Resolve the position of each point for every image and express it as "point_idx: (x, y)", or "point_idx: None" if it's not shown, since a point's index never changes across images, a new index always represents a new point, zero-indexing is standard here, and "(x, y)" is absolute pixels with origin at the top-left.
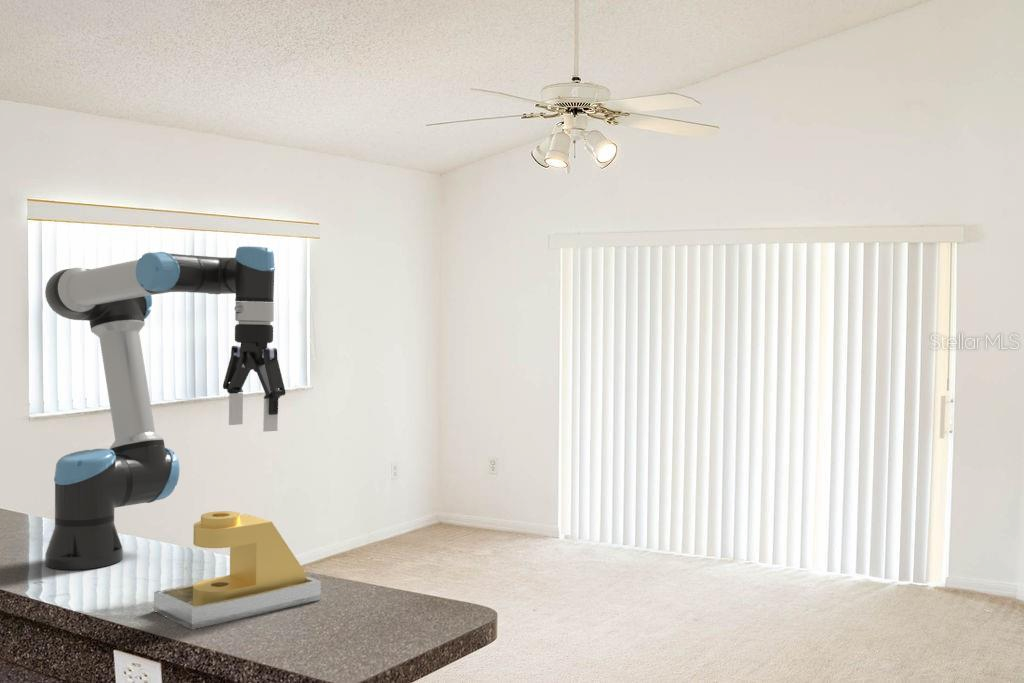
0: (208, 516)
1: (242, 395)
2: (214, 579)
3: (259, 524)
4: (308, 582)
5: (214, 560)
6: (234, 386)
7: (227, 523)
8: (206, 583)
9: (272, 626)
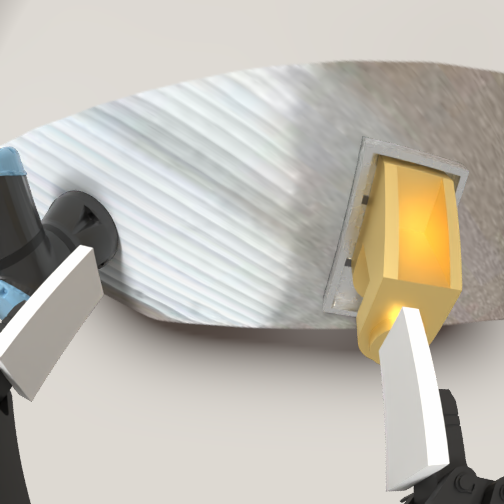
0: None
1: (8, 350)
2: (362, 267)
3: (451, 307)
4: (459, 185)
5: (164, 113)
6: (8, 424)
7: None
8: (367, 282)
9: (464, 263)
